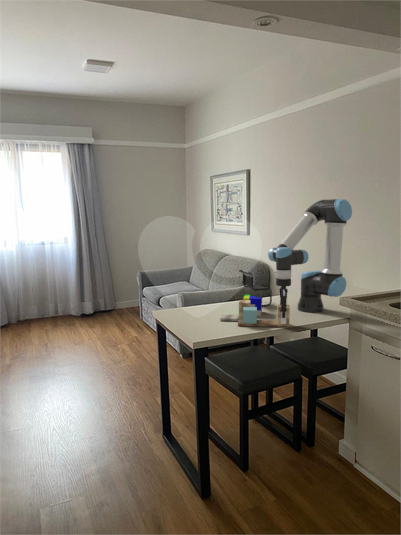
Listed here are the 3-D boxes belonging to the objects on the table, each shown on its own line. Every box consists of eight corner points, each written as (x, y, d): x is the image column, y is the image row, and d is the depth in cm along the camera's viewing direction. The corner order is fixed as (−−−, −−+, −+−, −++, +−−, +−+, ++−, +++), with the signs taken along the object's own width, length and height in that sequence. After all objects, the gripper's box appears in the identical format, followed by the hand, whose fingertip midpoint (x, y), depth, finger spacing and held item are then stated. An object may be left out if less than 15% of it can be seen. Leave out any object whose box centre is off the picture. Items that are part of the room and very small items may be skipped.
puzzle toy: (260, 316, 226) (261, 298, 225) (243, 315, 228) (243, 298, 227) (261, 311, 236) (261, 295, 234) (244, 311, 238) (244, 294, 236)
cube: (256, 320, 212) (256, 307, 211) (256, 323, 205) (256, 310, 204) (243, 319, 213) (243, 306, 212) (242, 323, 206) (242, 310, 206)
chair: (237, 303, 256) (237, 269, 253) (261, 301, 262) (262, 268, 259) (247, 308, 244) (247, 272, 241) (272, 305, 250) (272, 271, 247)
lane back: (250, 317, 222) (250, 299, 221) (249, 321, 214) (250, 303, 213) (221, 316, 225) (221, 299, 223) (220, 320, 217) (220, 302, 215)
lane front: (288, 322, 210) (288, 304, 209) (289, 327, 203) (289, 308, 201) (238, 321, 214) (238, 303, 213) (237, 325, 207) (237, 306, 205)
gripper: (275, 274, 213) (275, 317, 217) (276, 281, 195) (276, 327, 198) (289, 274, 212) (289, 317, 215) (292, 281, 194) (291, 327, 197)
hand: (283, 321), depth 207 cm, fingers closed on lane front, 6 cm apart
